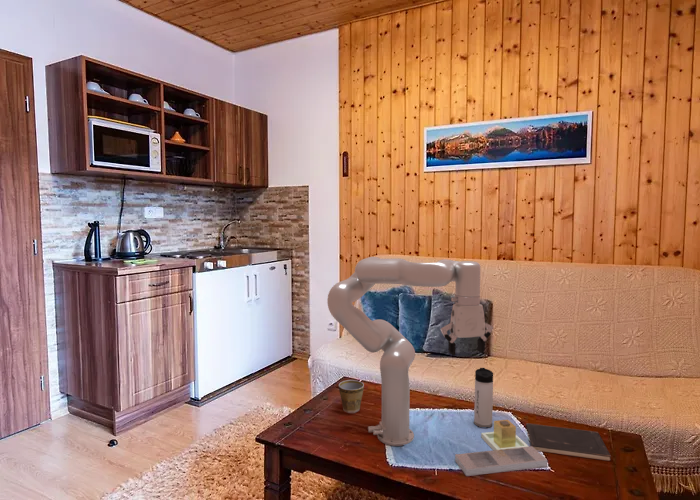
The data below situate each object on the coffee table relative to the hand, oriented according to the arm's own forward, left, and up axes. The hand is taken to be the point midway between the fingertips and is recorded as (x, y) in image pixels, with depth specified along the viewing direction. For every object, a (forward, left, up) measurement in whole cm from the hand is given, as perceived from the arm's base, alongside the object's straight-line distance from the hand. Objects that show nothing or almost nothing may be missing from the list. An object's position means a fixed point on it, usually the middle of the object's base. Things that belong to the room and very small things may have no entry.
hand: (466, 353), depth 138 cm
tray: (+14, 0, -32) cm, 35 cm away
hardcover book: (+35, -2, -33) cm, 48 cm away
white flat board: (+7, -10, -32) cm, 35 cm away
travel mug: (+14, +15, -32) cm, 38 cm away
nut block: (+14, 0, -32) cm, 35 cm away
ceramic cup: (-31, +37, -32) cm, 58 cm away
